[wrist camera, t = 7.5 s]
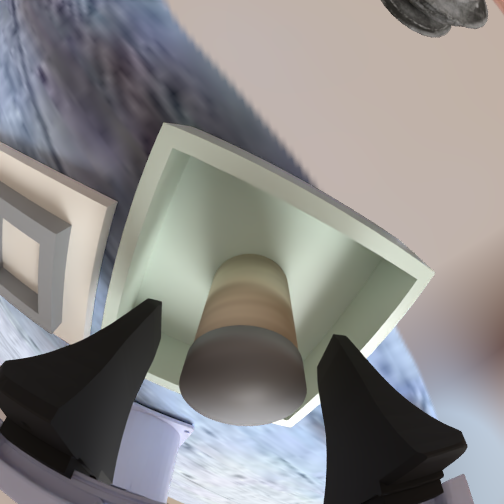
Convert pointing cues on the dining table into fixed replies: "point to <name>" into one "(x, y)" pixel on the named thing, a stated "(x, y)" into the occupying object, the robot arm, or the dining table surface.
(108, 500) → the robot arm
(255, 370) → the strut
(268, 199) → the bin
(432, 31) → the salt shaker
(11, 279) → the square socket plate
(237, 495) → the dining table surface
